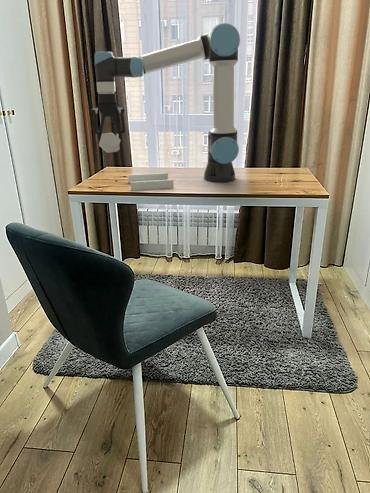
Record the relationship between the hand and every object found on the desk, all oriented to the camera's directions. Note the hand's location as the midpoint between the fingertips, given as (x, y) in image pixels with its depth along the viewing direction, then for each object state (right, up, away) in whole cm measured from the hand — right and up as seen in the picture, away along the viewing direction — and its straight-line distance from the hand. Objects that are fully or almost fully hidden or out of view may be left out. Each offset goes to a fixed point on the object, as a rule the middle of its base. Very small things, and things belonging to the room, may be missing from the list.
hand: (111, 149), depth 175 cm
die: (0, -2, -3) cm, 3 cm away
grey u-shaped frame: (+16, -14, +10) cm, 23 cm away
